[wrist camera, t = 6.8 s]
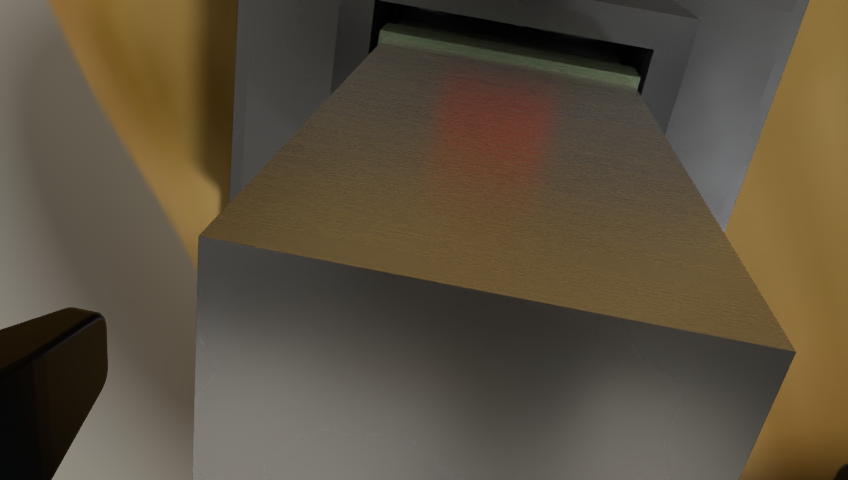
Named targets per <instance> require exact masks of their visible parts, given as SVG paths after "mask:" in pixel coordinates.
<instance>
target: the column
mask: <svg viewBox="0 0 848 480" xmlns="http://www.w3.org/2000/svg"><path fill="white" fill-rule="evenodd" d="M640 78H641V77H640V76H639V74H638V73H637V71H636V70H635V68H634V67H631V66H626V65H622V64H621V63H620V61H619V59H618V58H617V56H616V55H615V53H614V51H613V50H612V48H611V46H610V45H608V44H603V43H597V42H592V41H586V40H580V39H575V38H569V37H564V36H558V35H553V34H547V33H541V32H536V31H530V30H525V29H519V28H514V27H508V26H503V25H497V24H491V23H486V22H480V21H475V20H469V19H464V18H458V17H452V16H447V15H441V14H436V13H430V12H425V11H419V10H414V9H412V10H411V11H410V12H409V13H408V14H407V15H406V16H405V17H404V18H403V19H402V20H401V21H400V22H399V23H398V24H393V23H387V24H386V25H385V26H384V27H383V28H382V29H381V30H380V33H379V40H378V46H377V47H376V48H375V49H374V50H373V51H372V52H371V53H370V54H369V55H368V56H367V57H366V58H365V60H364V61H363V62H362V63H361V64H360V65H359V66H358V67H357V68H356V69H355V70H354V71H353V72H352V73H351V74H350V75H349V77H348V78H347V79H346V80H345V81H344V82H343V83H342V84H341V85H340V86H339V87H338V88H337V89H336V90H335V91H334V93H333V94H332V95H331V96H330V97H329V98H328V99H327V100H326V101H325V102H324V103H323V104H322V105H321V106H320V107H319V108H318V110H317V111H316V112H315V113H314V114H313V115H312V116H311V117H310V118H309V119H308V120H307V121H306V122H305V123H304V124H303V125H302V127H301V128H300V129H299V130H298V131H297V132H296V133H295V134H294V135H293V136H292V137H291V138H290V139H289V140H288V141H287V143H286V144H285V145H284V146H283V147H282V148H281V149H280V150H279V151H278V152H277V153H276V154H275V155H274V156H273V157H272V158H271V160H270V161H269V162H268V163H267V164H266V165H265V166H264V167H263V168H262V169H261V170H260V171H259V172H258V173H257V174H256V176H255V177H254V178H253V179H252V180H251V181H250V182H249V183H248V184H247V185H246V186H245V187H244V188H243V189H242V190H241V191H240V193H239V194H238V195H237V196H236V197H235V198H234V199H233V200H232V201H231V202H230V203H229V204H228V205H227V206H226V207H225V208H224V210H223V211H222V212H221V213H220V214H219V215H218V216H217V217H216V218H215V219H214V220H213V221H212V222H211V223H210V224H209V226H208V227H207V228H206V229H205V230H204V231H203V232H202V233H201V234H200V235H199V241H198V280H197V281H198V282H197V321H196V322H197V323H196V359H195V360H196V361H195V362H196V363H195V399H194V400H195V401H194V440H193V478H192V479H193V480H739V478H740V476H741V473H742V471H743V469H744V467H745V465H746V462H747V460H748V458H749V456H750V453H751V451H752V449H753V447H754V444H755V442H756V440H757V438H758V436H759V433H760V431H761V429H762V427H763V424H764V422H765V420H766V418H767V416H768V413H769V411H770V409H771V407H772V404H773V402H774V400H775V398H776V396H777V393H778V391H779V389H780V387H781V384H782V382H783V380H784V378H785V376H786V373H787V371H788V369H789V367H790V364H791V362H792V360H793V358H794V355H795V353H796V351H795V349H794V347H793V346H792V344H791V342H790V341H789V339H788V338H787V336H786V334H785V333H784V331H783V329H782V328H781V326H780V324H779V323H778V321H777V319H776V318H775V316H774V315H773V313H772V311H771V310H770V308H769V306H768V305H767V303H766V301H765V300H764V298H763V296H762V295H761V293H760V291H759V290H758V288H757V287H756V285H755V283H754V282H753V280H752V278H751V277H750V275H749V273H748V272H747V270H746V268H745V267H744V265H743V264H742V262H741V260H740V259H739V257H738V255H737V254H736V252H735V250H734V249H733V247H732V245H731V244H730V242H729V240H728V239H727V237H726V236H725V234H724V232H723V231H722V229H721V227H720V226H719V224H718V222H717V221H716V219H715V217H714V216H713V214H712V213H711V211H710V209H709V208H708V206H707V204H706V203H705V201H704V199H703V198H702V196H701V194H700V193H699V191H698V189H697V188H696V186H695V185H694V183H693V181H692V180H691V178H690V176H689V175H688V173H687V171H686V170H685V168H684V166H683V165H682V163H681V161H680V160H679V158H678V157H677V155H676V153H675V152H674V150H673V148H672V147H671V145H670V143H669V142H668V140H667V138H666V137H665V135H664V134H663V132H662V130H661V129H660V127H659V125H658V124H657V122H656V120H655V119H654V117H653V115H652V114H651V112H650V110H649V109H648V107H647V106H646V104H645V102H644V101H643V99H642V97H641V96H640V94H639V92H638V91H637V88H638V85H639V81H640Z"/></svg>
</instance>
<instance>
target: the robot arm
mask: <svg viewBox="0 0 848 480" xmlns="http://www.w3.org/2000/svg"><path fill="white" fill-rule="evenodd" d="M107 371H108V359H107V328H106V321H105V318H104V317H103V316H102V315H101V314H100V313H98V312H93V311H88V310H83V309H78V308H65V309H62V310H59V311H56V312H53V313H50V314H47V315H44V316H41V317H38V318H35V319H32V320H29V321H26V322H23V323H20V324H17V325H14V326H10V327H8V328H4V329H1V330H0V480H51V479H52V478H53V476H54V474H55V472H56V471H57V469H58V467H59V465H60V464H61V462H62V460H63V458H64V456H65V455H66V453H67V451H68V449H69V447H70V446H71V444H72V442H73V440H74V439H75V437H76V435H77V433H78V431H79V430H80V428H81V426H82V424H83V422H84V421H85V419H86V417H87V415H88V414H89V412H90V410H91V408H92V406H93V405H94V403H95V401H96V399H97V397H98V396H99V394H100V392H101V390H102V388H103V386H104V384H105V381H106V377H107ZM833 480H848V464H845V465H843V466H842V467H841V468H839V470H838V471H837V473H836V475H835V477H834V479H833Z"/></svg>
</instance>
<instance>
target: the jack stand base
mask: <svg viewBox="0 0 848 480" xmlns="http://www.w3.org/2000/svg"><path fill="white" fill-rule="evenodd" d="M808 3H809V0H238V18H237V41H236V63H235V86H234V108H233V131H232V153H231V176H230V199H229V203H230V202H231V201H232V200H233V199H234V198H235V197H236V196H237V195H238V194H239V193H240V191H241V190H242V189H243V188H244V187H245V186H246V185H247V184H248V183H249V182H250V181H251V180H252V179H253V178H254V177H255V176H256V174H257V173H258V172H259V171H260V170H261V169H262V168H263V167H264V166H265V165H266V164H267V163H268V162H269V161H270V160H271V158H272V157H273V156H274V155H275V154H276V153H277V152H278V151H279V150H280V149H281V148H282V147H283V146H284V145H285V144H286V143H287V141H288V140H289V139H290V138H291V137H292V136H293V135H294V134H295V133H296V132H297V131H298V130H299V129H300V128H301V127H302V125H303V124H304V123H305V122H306V121H307V120H308V119H309V118H310V117H311V116H312V115H313V114H314V113H315V112H316V111H317V110H318V108H319V107H320V106H321V105H322V104H323V103H324V102H325V101H326V100H327V99H328V98H329V97H330V96H331V95H332V94H333V93H334V91H335V90H336V89H337V88H338V87H339V86H340V85H341V84H342V83H343V82H344V81H345V80H346V79H347V78H348V77H349V75H350V74H351V73H352V72H353V71H354V70H355V69H356V68H357V67H358V66H359V65H360V64H361V63H362V62H363V61H364V60H365V58H366V57H367V56H368V55H369V54H370V53H371V52H372V51H373V50H374V49H375V48H376V47H377V46H378V40H379V33H380V30H381V29H382V28H383V27H384V26H385V25H386V24H387V23H393V24H398V23H399V22H400V21H401V20H402V19H403V18H404V17H405V16H406V15H407V14H408V13H409V12H410V11H411V10H412V9H414V10H419V11H425V12H430V13H436V14H441V15H447V16H452V17H458V18H464V19H469V20H475V21H480V22H486V23H491V24H497V25H503V26H508V27H514V28H519V29H525V30H530V31H536V32H541V33H547V34H553V35H558V36H564V37H569V38H575V39H580V40H586V41H592V42H597V43H603V44H608V45H610V46H611V48H612V50H613V51H614V53H615V55H616V56H617V58H618V59H619V61H620V63H621V64H622V65H626V66H631V67H634V68H635V70H636V71H637V73H638V74H639V76H640V77H641V78H640V81H639V85H638V88H637V91H638V92H639V94H640V96H641V97H642V99H643V101H644V102H645V104H646V106H647V107H648V109H649V110H650V112H651V114H652V115H653V117H654V119H655V120H656V122H657V124H658V125H659V127H660V129H661V130H662V132H663V134H664V135H665V137H666V138H667V140H668V142H669V143H670V145H671V147H672V148H673V150H674V152H675V153H676V155H677V157H678V158H679V160H680V161H681V163H682V165H683V166H684V168H685V170H686V171H687V173H688V175H689V176H690V178H691V180H692V181H693V183H694V185H695V186H696V188H697V189H698V191H699V193H700V194H701V196H702V198H703V199H704V201H705V203H706V204H707V206H708V208H709V209H710V211H711V213H712V214H713V216H714V217H715V219H716V221H717V222H718V224H719V226H720V227H721V229H722V231H723V232H724V231H725V229H726V226H727V223H728V221H729V218H730V215H731V212H732V210H733V207H734V204H735V201H736V199H737V196H738V193H739V191H740V188H741V185H742V182H743V180H744V177H745V174H746V172H747V169H748V166H749V163H750V161H751V158H752V155H753V153H754V150H755V147H756V144H757V142H758V139H759V136H760V133H761V131H762V128H763V125H764V123H765V120H766V117H767V114H768V112H769V109H770V106H771V104H772V101H773V98H774V95H775V93H776V90H777V87H778V85H779V82H780V79H781V76H782V74H783V71H784V68H785V65H786V63H787V60H788V57H789V55H790V52H791V49H792V46H793V44H794V41H795V38H796V36H797V33H798V30H799V27H800V25H801V22H802V19H803V16H804V14H805V11H806V8H807V6H808Z"/></svg>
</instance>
